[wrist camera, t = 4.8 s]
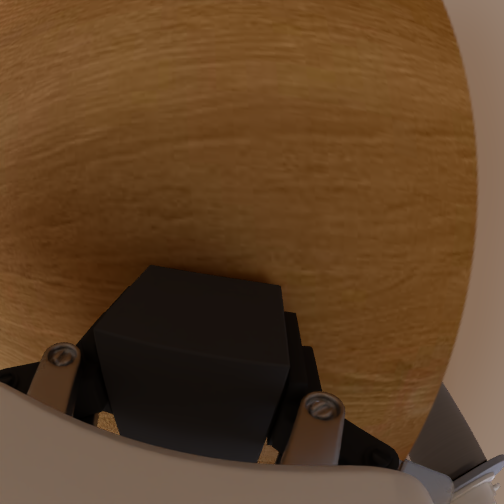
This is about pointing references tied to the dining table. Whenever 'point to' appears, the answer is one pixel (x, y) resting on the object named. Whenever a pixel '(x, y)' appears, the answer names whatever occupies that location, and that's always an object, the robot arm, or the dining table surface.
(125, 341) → the pad
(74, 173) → the dining table surface
